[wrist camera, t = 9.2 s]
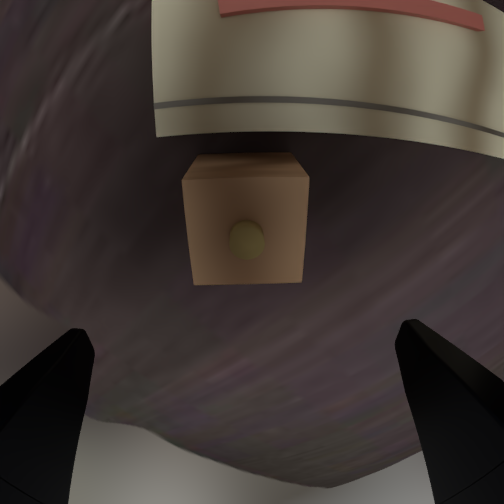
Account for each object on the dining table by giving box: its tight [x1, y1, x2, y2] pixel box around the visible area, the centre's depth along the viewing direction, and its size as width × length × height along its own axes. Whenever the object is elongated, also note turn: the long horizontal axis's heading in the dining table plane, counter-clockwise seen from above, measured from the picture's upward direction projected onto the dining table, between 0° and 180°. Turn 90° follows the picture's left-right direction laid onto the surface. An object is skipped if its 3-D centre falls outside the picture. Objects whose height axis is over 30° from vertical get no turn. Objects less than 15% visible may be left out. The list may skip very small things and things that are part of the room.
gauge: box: [182, 152, 309, 285], centre depth 15 cm, size 5×5×6 cm
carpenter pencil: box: [218, 0, 485, 31], centre depth 9 cm, size 14×1×1 cm, turn 99°
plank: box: [152, 0, 504, 159], centre depth 12 cm, size 22×10×2 cm, turn 91°
